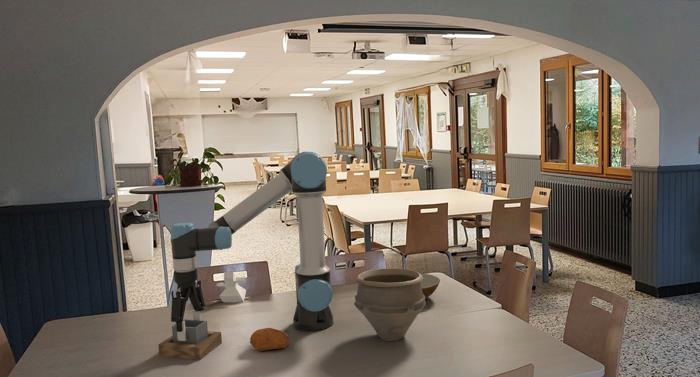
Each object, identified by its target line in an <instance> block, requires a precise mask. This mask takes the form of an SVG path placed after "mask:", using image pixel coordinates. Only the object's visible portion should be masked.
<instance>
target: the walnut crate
mask: <svg viewBox="0 0 700 377" xmlns="http://www.w3.org/2000/svg"><path fill="white" fill-rule="evenodd" d="M222 343H223V338H222V332H221V331H211V330H208V338H206V339H205V340H203V341H202V342H201V343H199V344H198V345H194V344H181V343H173V335H172V336H169V337H168V338H166V339H165V340H163V341H161V342H160V343H158V344H157V345H158V356H159V357H163V358H164V357H166V358H175V359H176V358H178V359H188V360H190V359H191V360H202V359H203V358H204V357H206V356H207V355H208V354H210V353H211V352H213V351H214V350H215V349H216V348H218V346H220V345H221V344H222Z"/></svg>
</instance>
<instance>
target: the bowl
mask: <svg viewBox="0 0 700 377" xmlns="http://www.w3.org/2000/svg"><path fill="white" fill-rule="evenodd" d="M419 273H420V274H421V275H422V276H423V280H422V281H421V287H422V292H423V294H424V295H425V300H427V298H429V297H430V296H432V295H433V293H435V292H436V290H437V289H438V287H439V284H440V282H441V279H440V278H439V277H438V276H435V275H433V274H429V273H424V272H423V273H422V272H419Z"/></svg>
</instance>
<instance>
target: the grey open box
mask: <svg viewBox="0 0 700 377" xmlns="http://www.w3.org/2000/svg"><path fill="white" fill-rule="evenodd" d="M183 321H185V330H186V341H178V336H177V330H176V323H175V324H174V325H173V326H171V331H172V332H171V334H172V336H173V343H181V344H194V345H198V344H199V343H201V342H202V341H203V340H205V339H206V338H208V331H209V329H208V320H202V319H201V320H193V319H187V318H186V319H184V318H183Z"/></svg>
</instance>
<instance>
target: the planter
mask: <svg viewBox="0 0 700 377" xmlns="http://www.w3.org/2000/svg"><path fill="white" fill-rule="evenodd" d="M420 273H421V272H418V271H416V270H412V269H407V268H399V267H398V268H379V269H378V268H377V269H370V270H366V271H362V272H360V273H359V274H357V275H356V277H355V282H356V283H357V292H356V294H355V296H354V300H355V302H354V304H353V305H354V306H355V308H357V310H358V311H359V312H360V313H361V315H363V317H364V318H365V319H366V320H367V321H368V322H369V324H370V325H371V327H372V328H373V329H374V331H375V332H376V334H377V336H378V337H379V338H380V340H383V341H387V342H390V341H391V342H394V341H400V340H401V339H403V338H404V337H406V334H407V332H408V330H409V329H410V327H411V326H412V324H413V323H414V321H415V320H416V318H417V317H418V316H419V314H420V312H421V311H422V310H423V308H425V306H426V305H427V304H426V299H425V295H424V294H423V292H422V287H421V281H422V280H423V276H422V275H421V274H420Z"/></svg>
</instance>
